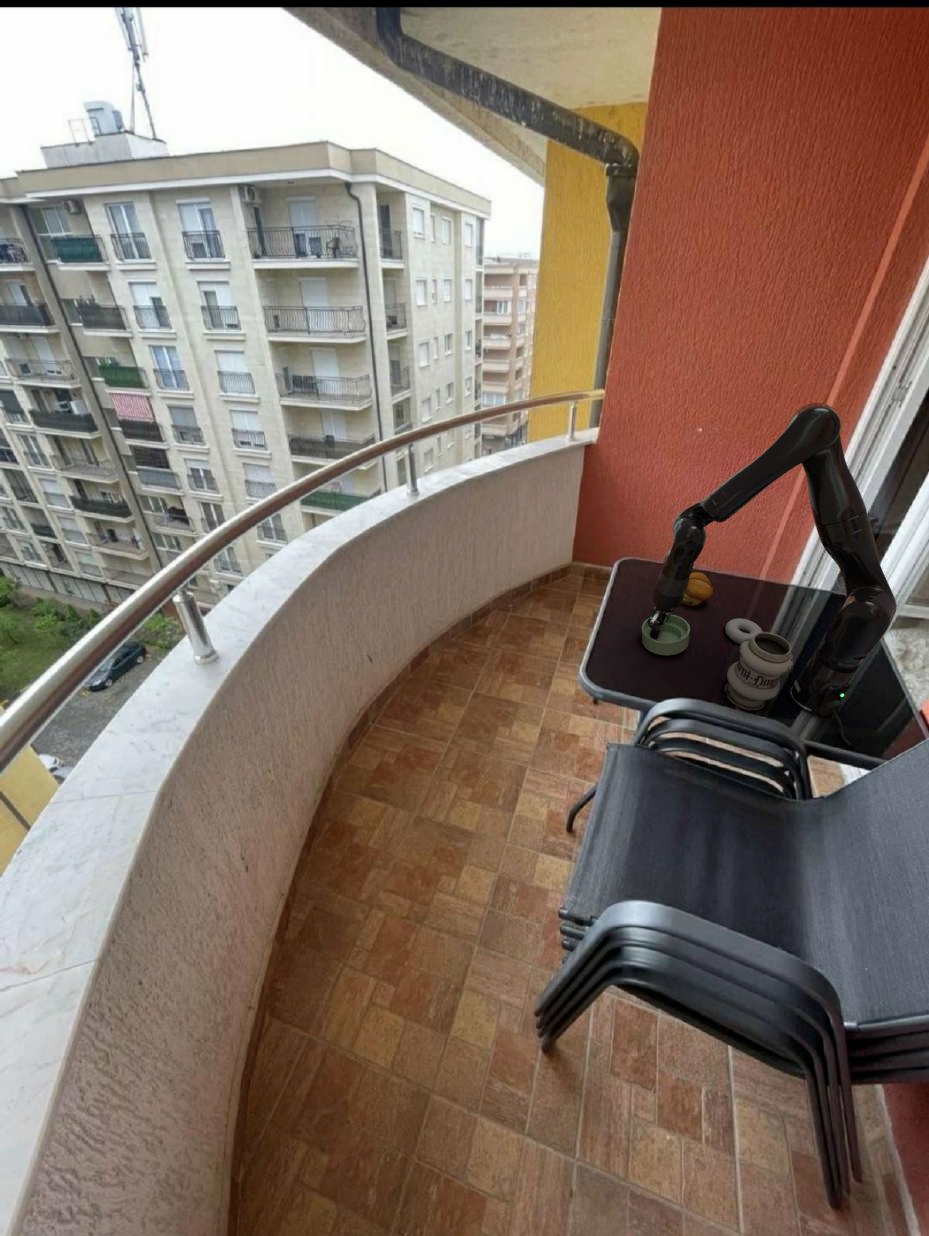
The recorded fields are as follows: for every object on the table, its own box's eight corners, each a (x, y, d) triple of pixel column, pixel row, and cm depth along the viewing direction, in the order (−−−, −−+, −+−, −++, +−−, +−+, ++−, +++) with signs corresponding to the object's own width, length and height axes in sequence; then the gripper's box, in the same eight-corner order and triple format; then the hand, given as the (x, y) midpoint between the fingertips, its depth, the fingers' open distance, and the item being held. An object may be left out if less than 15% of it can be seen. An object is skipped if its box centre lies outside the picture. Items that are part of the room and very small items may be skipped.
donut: (726, 645, 153) (764, 650, 152) (730, 636, 151) (768, 641, 150) (720, 622, 161) (756, 627, 159) (724, 613, 159) (761, 618, 157)
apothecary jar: (711, 678, 143) (736, 626, 131) (755, 677, 144) (784, 625, 132) (732, 714, 134) (761, 662, 122) (779, 713, 135) (812, 661, 123)
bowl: (693, 632, 152) (694, 618, 149) (682, 661, 145) (683, 646, 142) (649, 624, 158) (649, 610, 155) (636, 651, 151) (636, 638, 148)
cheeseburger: (688, 583, 175) (704, 562, 167) (708, 609, 169) (726, 588, 161) (663, 590, 171) (678, 568, 163) (683, 616, 166) (699, 595, 158)
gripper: (672, 604, 135) (655, 655, 147) (695, 581, 143) (677, 631, 154) (645, 591, 139) (630, 642, 150) (669, 570, 147) (653, 619, 158)
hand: (654, 636), depth 152 cm, fingers closed
